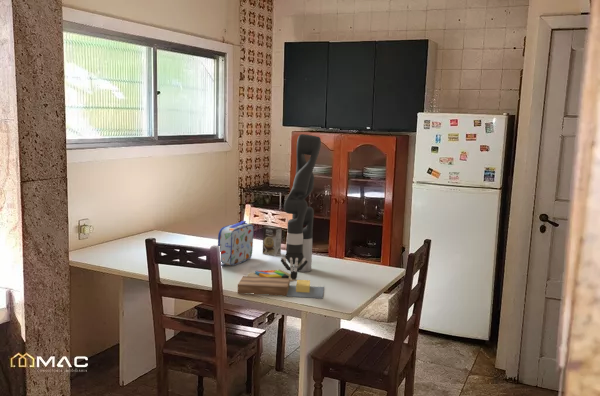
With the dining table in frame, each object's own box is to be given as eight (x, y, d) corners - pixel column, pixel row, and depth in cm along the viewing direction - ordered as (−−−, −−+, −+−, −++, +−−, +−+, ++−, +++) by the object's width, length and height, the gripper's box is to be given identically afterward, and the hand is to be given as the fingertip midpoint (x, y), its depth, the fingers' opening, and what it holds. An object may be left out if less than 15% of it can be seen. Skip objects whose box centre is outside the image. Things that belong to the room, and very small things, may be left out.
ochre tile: (310, 280, 258) (309, 286, 259) (297, 279, 259) (297, 286, 259) (309, 286, 249) (309, 292, 250) (296, 285, 250) (296, 291, 250)
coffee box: (262, 254, 320) (262, 226, 318) (268, 252, 326) (269, 225, 324) (275, 256, 316) (275, 228, 313) (281, 254, 321) (282, 227, 319)
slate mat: (289, 286, 260) (289, 285, 260) (323, 287, 259) (323, 286, 259) (286, 296, 244) (286, 295, 244) (322, 298, 243) (322, 297, 243)
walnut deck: (243, 284, 260) (243, 276, 260) (289, 286, 259) (289, 278, 258) (237, 293, 247) (237, 284, 246) (286, 295, 245) (286, 287, 245)
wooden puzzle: (297, 281, 270) (297, 274, 269) (263, 286, 260) (263, 279, 259) (279, 272, 284) (279, 266, 284) (246, 277, 274) (246, 270, 274)
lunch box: (239, 255, 316) (240, 217, 313) (255, 257, 312) (256, 219, 309) (214, 266, 290) (215, 225, 287) (232, 269, 287) (232, 227, 284)
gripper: (309, 241, 254) (308, 277, 257) (281, 239, 255) (280, 276, 258) (308, 244, 247) (307, 282, 249) (279, 243, 248) (278, 280, 250)
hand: (293, 279), depth 254 cm, fingers closed
